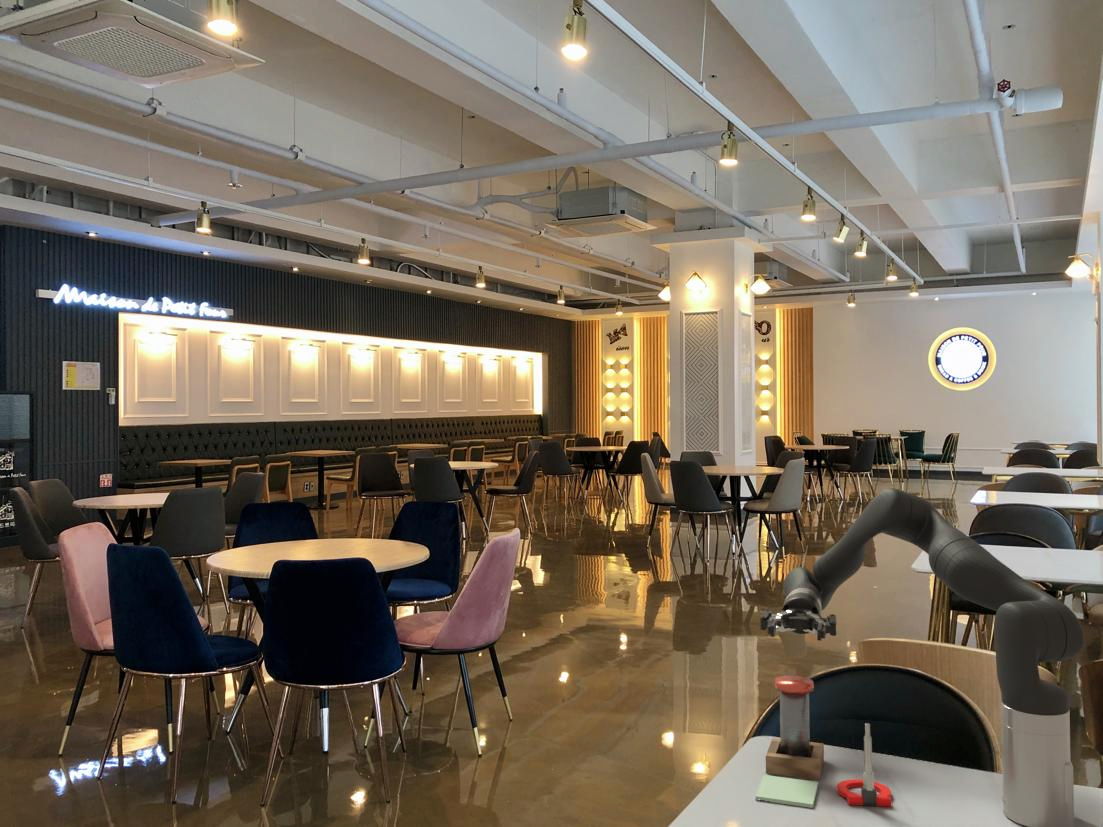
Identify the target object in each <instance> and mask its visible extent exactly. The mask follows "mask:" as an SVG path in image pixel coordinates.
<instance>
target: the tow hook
mask: <svg viewBox="0 0 1103 827" xmlns="http://www.w3.org/2000/svg"><path fill="white" fill-rule="evenodd" d="M864 731H865V732H864V736H863V759H864V761H863V763H864V767H863V768H864V771H863V772H862V779H853V778H852V779H846V780H842V781H840V782H838V783H837V785H836V791H837V794H839V795H841V797H843V798H846V800H847V805H853V806H854V805H856V806H863V807H892V790H891V789H890V788H889V787H888V786H886V785H884V784H882V783H879V782H877V781H875V774H874V772H873V745H872V744H873V741H872V739H873V738H872V736H871V724H870V723H868V722H867V723H864ZM857 787H860V793H857V792H853V791H852V790H849V789H851V788H857ZM877 792H879V793H877ZM860 794H861V795H860Z"/></svg>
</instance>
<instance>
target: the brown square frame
mask: <svg viewBox="0 0 1103 827" xmlns="http://www.w3.org/2000/svg"><path fill="white" fill-rule="evenodd" d="M824 745H825V744H824V743H823V742H821V743H820V742H813V741H810V758H808V757H799V756H791V755H783V754H781V738H779V737H772V738H771V742H770V744H769V746H768V750H767V752H766V754H765V773H766V774H772V775H778V776H779V775H781V776H789V777H795V778H803V779H811V780H818V781H820V778H821V776H822V771H823V767H824V761H825V748H824V747H825V746H824Z"/></svg>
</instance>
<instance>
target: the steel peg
mask: <svg viewBox="0 0 1103 827" xmlns="http://www.w3.org/2000/svg"><path fill="white" fill-rule="evenodd" d="M814 686H815V684H814V680H812V679H811V678H808V677H806V676H800V675H781V676H777V677H776V678H775V679H774V687H775V688H774V689H775V690H778V691H779V724H780V726H779V727H780V728H779V729H780V730H779V731H780V734H779V735H780V736H779V737H780V739H781V754H783V755H791V756H799V757H808V758H810V742H811V741H810V737H811V734H810V693H812V692H813V691H814V689H815V687H814Z"/></svg>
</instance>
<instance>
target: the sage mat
mask: <svg viewBox="0 0 1103 827" xmlns="http://www.w3.org/2000/svg"><path fill="white" fill-rule="evenodd" d="M818 787H819V781H814V780H805V779H798V778H791V777H790V778H789V777H782V776H774V775H770V774H769V775H767V774H763V776H762V778H761V781H760V783H759V785H758V788H757V791H756V794H755V800H756V799H760V800H767V801H770V802H769V803H775V804H776V803H777V804H783V805H788V806H796V807H803V808H812V809H813V808H814V805H815V801H816V796H817V792H818ZM760 800H759V801H760ZM767 801H766V802H767Z"/></svg>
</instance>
